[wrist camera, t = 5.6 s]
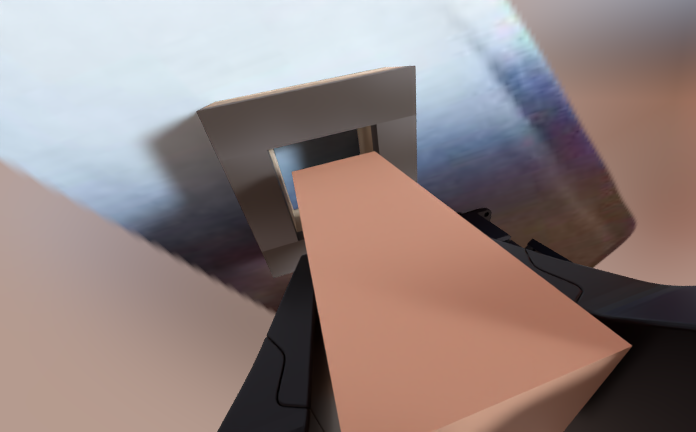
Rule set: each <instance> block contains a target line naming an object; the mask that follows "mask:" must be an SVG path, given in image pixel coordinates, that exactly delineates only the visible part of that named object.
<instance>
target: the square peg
mask: <svg viewBox="0 0 696 432" xmlns="http://www.w3.org/2000/svg"><path fill="white" fill-rule="evenodd" d="M292 176H293V181H294V187H295V192H296V197H297V202H298V208H299V213H300V218H301V223H302V229H303V234H304V239H305V245H306V250H307V255H308V260H309V266H310V271H311V276H312V281H313V287H314V292H315V297H316V302H317V308H318V313H319V318H320V324H321V329H322V334H323V339H324V345H325V350H326V355H327V360H328V366H329V371H330V376H331V381H332V387H333V392H334V397H335V403H336V408H337V413H338V418H339V424H340V429H341V432H563V431H564V430H565V429H566V428H567V426H568V425H569V424H570V423H571V422H572V420H573V419H574V418H575V417H576V415H577V414H578V413H579V412H580V410H581V409H582V408H583V407H584V405H585V404H586V403H587V402H588V400H589V399H590V398H591V397H592V395H593V394H594V393H595V392H596V390H597V389H598V388H599V387H600V386H601V384H602V383H603V382H604V381H605V379H606V378H607V377H608V376H609V374H610V373H611V372H612V371H613V369H614V368H615V367H616V366H617V364H618V363H619V362H620V361H621V359H622V358H623V357H624V356H625V355H626V353H627V352H628V351H629V350H630V348H631V347H632V345H631V344H629V343H628V342H627V341H625V340H624V339H623V338H621V337H620V336H619V335H617V334H616V333H615V332H613V331H612V330H611V329H609V328H608V327H607V326H605V325H604V324H603V323H601V322H600V321H599V320H597V319H596V318H595V317H594V316H592V315H591V314H590V313H588V312H587V311H586V310H584V309H583V308H582V307H580V306H579V305H578V304H576V303H575V302H574V301H572V300H571V299H570V298H568V297H567V296H566V295H564V294H563V293H562V292H560V291H559V290H558V289H556V288H555V287H554V286H553V285H551V284H550V283H549V282H547V281H546V280H545V279H543V278H542V277H541V276H539V275H538V274H537V273H535V272H534V271H533V270H531V269H530V268H529V267H527V266H526V265H525V264H523V263H522V262H521V261H519V260H518V259H517V258H515V257H514V256H513V255H511V254H510V253H509V252H508V251H506V250H505V249H504V248H502V247H501V246H500V245H498V244H497V243H496V242H494V241H493V240H492V239H490V238H489V237H488V236H486V235H485V234H484V233H482V232H481V231H480V230H478V229H477V228H476V227H474V226H473V225H472V224H470V223H469V222H468V221H467V220H465V219H464V218H463V217H461V216H460V215H459V214H457V213H456V212H455V211H453V210H452V209H451V208H449V207H448V206H447V205H445V204H444V203H443V202H441V201H440V200H439V199H437V198H436V197H435V196H433V195H432V194H431V193H429V192H428V191H427V190H426V189H424V188H423V187H422V186H420V185H419V184H418V183H416V182H415V181H414V180H412V179H411V178H410V177H408V176H407V175H406V174H404V173H403V172H402V171H400V170H399V169H398V168H396V167H395V166H394V165H392V164H391V163H390V162H388V161H387V160H386V159H384V158H383V157H382V156H381V155H379V154H378V153H377V152H375V151H373V152H369V153H365V154H361V155H357V156H353V157H349V158H345V159H341V160H337V161H333V162H329V163H325V164H321V165H317V166H313V167H309V168H305V169H301V170H298V171H294V172H292Z"/></svg>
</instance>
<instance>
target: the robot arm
mask: <svg viewBox="0 0 696 432" xmlns="http://www.w3.org/2000/svg"><path fill="white" fill-rule="evenodd" d="M460 216H461V217H463V218H464V219H465V220H467V221H468V222H469V223H470V224H472V225H473V226H474V227H476V228H477V229H478V230H480V231H481V232H482V233H484V234H485V235H486V236H488V237H489V238H490V239H492V240H493V241H494V242H496V243H497V244H498V245H500V246H501V247H502V248H504V249H505V250H506V251H508V252H509V253H510V254H511V255H513V256H514V257H515V258H517V259H518V260H519V261H521V262H522V263H523V264H525V265H526V266H527V267H529V268H530V269H531V270H533V271H534V272H535V273H537V274H538V275H539V276H541V277H542V278H543V279H545V280H546V281H547V282H549V283H550V284H551V285H553V286H554V287H555V288H556V289H558V290H559V291H560V292H562V293H563V294H564V295H566V296H567V297H568V298H570V299H571V300H572V301H574V302H575V303H576V304H578V305H579V306H580V307H582V308H583V309H584V310H586V311H587V312H588V313H590V314H591V315H592V316H594V317H595V318H596V319H597V320H599V321H600V322H601V323H603V324H604V325H605V326H607V327H608V328H609V329H611V330H612V331H613V332H615V333H616V334H617V335H619V336H620V337H621V338H623V339H624V340H625V341H627V342H628V343H629V344H631V345H632V347H631V348H630V350H629V351H628V352H627V353H626V355H625V356H624V357H623V358H622V359H621V361H620V362H619V363H618V364H617V366H616V367H615V368H614V369H613V371H612V372H611V373H610V374H609V376H608V377H607V378H606V379H605V381H604V382H603V383H602V384H601V386H600V387H599V388H598V389H597V390H596V392H595V393H594V394H593V395H592V397H591V398H590V399H589V400H588V402H587V403H586V404H585V405H584V407H583V408H582V409H581V410H580V412H579V413H578V414H577V415H576V417H575V418H574V419H573V420H572V422H571V423H570V424H569V425H568V426H567V428H566V429H565V430H564V431H563V432H696V286H671V285H661V284H655V283H649V282H645V281H640V280H636V279H633V278H629V277H625V276H621V275H617V274H613V273H610V272H605V271H602V270H598V269H594V268H590V267H586V266H583V265H579V264H575V263H573V262H571V261H569V260H568V259H566V258H564V257H563V256H561V255H559V254H558V253H556V252H554V251H553V250H551V249H549V248H548V247H546V246H544V245H542V244H541V243H539V242H537V241H536V240H534V239H532V240H531V241H530V242H529V243H528V244H527V245H528V246H527V247H526V248H525V249H524V248H522V247H521V246H519V245H518V244H516V243H515V242H513V241H512V240H511V236H510V235H508V234H507V233H506V232H504V231H503V230H501V229H500V228H498V227H497V226H495V225H494V224H492V223H491V222H490V218H491V210H489V209H488V208H483V209H480V210H476V211H473V212H470V213H466V214H463V215H460ZM217 432H341V429H340V424H339V418H338V413H337V408H336V403H335V397H334V392H333V387H332V381H331V376H330V371H329V366H328V360H327V355H326V350H325V345H324V339H323V334H322V329H321V324H320V318H319V313H318V308H317V302H316V297H315V292H314V287H313V281H312V276H311V271H310V266H309V260H308V255H307V254H304V255H302V256H301V257H300V259H299V261H298V264H297V266H296V268H295V271H294V273H293V275H292V278H291V280H290V282H289V285H288V287H287V289H286V292H285V294H284V296H283V299H282V301H281V303H280V306H279V308H278V310H277V312H276V315H275V317H274V319H273V322H272V324H271V327H270V329H269V331H268V333H267V337H266V338H265V340H264V342H263V345H262V347H261V349H260V351H259V354H258V356H257V358H256V360H255V362H254V364H253V367H252V369H251V371H250V372H249V374H248V376H247V378H246V380H245V382H244V384H243V386H242V388H241V390H240V392H239V393H238V395H237V397H236V399H235V400H234V403H233V404H232V406H231V408H230V410H229V411H228V413H227V415H226V417H225V419H224V421H223V422H222V424H221V426H220V428H219V429H218V431H217Z"/></svg>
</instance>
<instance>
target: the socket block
mask: <svg viewBox="0 0 696 432" xmlns="http://www.w3.org/2000/svg"><path fill="white" fill-rule="evenodd" d="M197 114H198V116H199V118H200V120H201V122H202V124H203V126H204V129H205V131H206V133H207V135H208V137H209V139H210V142H211V144H212V146H213V148H214V150H215V152H216V155H217V157H218V159H219V161H220V163H221V165H222V168H223V170H224V172H225V174H226V176H227V178H228V180H229V183H230V185H231V187H232V189H233V191H234V193H235V196H236V198H237V200H238V202H239V204H240V206H241V209H242V211H243V213H244V215H245V217H246V219H247V222H248V224H249V226H250V228H251V230H252V232H253V234H254V237H255V239H256V241H257V243H258V245H259V247H260V250H261V252H262V254H263V256H264V258H265V260H266V263H267V265H268V267H269V269H270V271H271V273H272V276H273V278H276V277H279V276H282V275H285V274H289V273H292V272H294V271H295V268H296V266H297V264H298V261H299V259H300V257H301V256H302V255H304V254H307V250H306V245H305V239H304V234H303V229H302V223H301V218H300V213H299V209H296V210H293V207H292V204H291V201H290V198H289V195H288V192H287V189H286V186H285V183H284V180H283V177H282V174H281V171H280V168H279V165H278V162H277V159H276V156H275V153H274V150H273V149H274V148H278V147H282V146H286V145H291V144H295V143H299V142H303V141H307V140H312V139H316V138H320V137H324V136H328V135H333V134H337V133H341V132H345V131H350V130H354V129H357V135H358V142H359V149H360V155H361V154H365V153H369V152H373V151H375V152H377V153H378V154H379V155H381V156H382V157H383V158H384V159H386V160H387V161H388V162H390V163H391V164H392V165H394V166H395V167H396V168H398V169H399V170H400V171H402V172H403V173H404V174H406V175H407V176H408V177H410V178H411V179H412V180H414V181H415V182H416V183H417V139H416V70H415V66H403V67H384V68H379V69H374V70H369V71H364V72H359V73H354V74H349V75H344V76H340V77H335V78H330V79H325V80H320V81H315V82H310V83H305V84H301V85H296V86H291V87H286V88H281V89H276V90H271V91H266V92H261V93H257V94H252V95H247V96H242V97H237V98H232V99H227V100H222V101H217V102H214V103H212V104H210V105H208V106H206V107H204V108H202V109H200V110H198V111H197Z"/></svg>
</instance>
